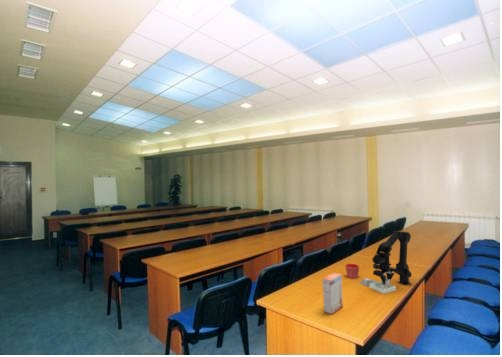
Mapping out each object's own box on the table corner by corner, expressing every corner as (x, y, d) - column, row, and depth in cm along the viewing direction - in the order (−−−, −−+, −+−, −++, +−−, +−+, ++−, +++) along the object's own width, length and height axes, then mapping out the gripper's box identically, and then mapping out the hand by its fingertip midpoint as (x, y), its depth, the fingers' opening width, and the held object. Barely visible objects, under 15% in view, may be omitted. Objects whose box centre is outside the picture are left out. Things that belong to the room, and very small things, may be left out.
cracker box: (334, 304, 175) (333, 272, 175) (343, 307, 170) (342, 274, 171) (323, 311, 165) (321, 277, 166) (332, 315, 161) (330, 280, 161)
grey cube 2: (368, 283, 206) (367, 278, 206) (371, 285, 202) (370, 280, 202) (363, 284, 206) (363, 278, 206) (366, 286, 202) (366, 280, 202)
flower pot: (351, 280, 216) (350, 268, 216) (343, 276, 226) (342, 264, 226) (362, 278, 218) (361, 266, 219) (353, 274, 229) (353, 263, 229)
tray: (381, 285, 204) (381, 281, 204) (395, 290, 193) (395, 286, 193) (369, 288, 199) (369, 283, 199) (383, 294, 188) (383, 289, 188)
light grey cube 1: (385, 283, 198) (384, 277, 198) (390, 285, 195) (390, 278, 195) (381, 284, 196) (381, 278, 196) (387, 286, 193) (386, 280, 193)
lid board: (370, 279, 217) (370, 278, 217) (381, 283, 206) (381, 282, 206) (356, 282, 211) (356, 280, 211) (367, 287, 201) (367, 285, 201)
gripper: (385, 257, 207) (386, 277, 206) (366, 261, 200) (367, 282, 199) (398, 261, 196) (398, 282, 196) (379, 265, 189) (380, 287, 189)
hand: (386, 283), depth 195 cm, fingers closed on light grey cube 1, 4 cm apart
